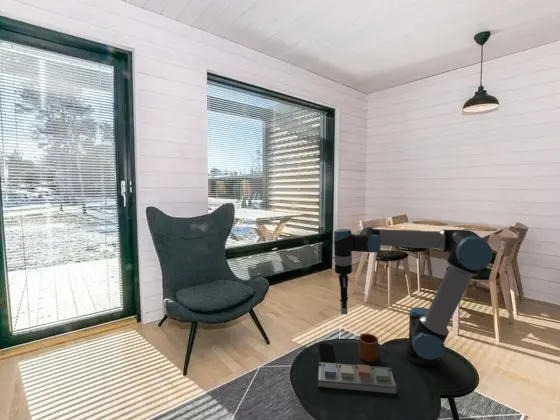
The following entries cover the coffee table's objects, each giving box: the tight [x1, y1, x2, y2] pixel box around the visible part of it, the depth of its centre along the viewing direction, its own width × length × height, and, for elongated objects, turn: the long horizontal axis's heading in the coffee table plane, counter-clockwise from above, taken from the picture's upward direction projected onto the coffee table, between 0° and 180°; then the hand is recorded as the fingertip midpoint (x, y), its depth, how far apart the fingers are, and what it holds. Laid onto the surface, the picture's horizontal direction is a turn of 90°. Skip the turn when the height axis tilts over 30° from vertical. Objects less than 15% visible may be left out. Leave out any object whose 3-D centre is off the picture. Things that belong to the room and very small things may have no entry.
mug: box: [358, 333, 379, 363], centre depth 146 cm, size 9×12×9 cm
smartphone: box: [318, 343, 337, 364], centre depth 148 cm, size 7×1×15 cm
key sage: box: [374, 368, 388, 381], centre depth 127 cm, size 5×5×2 cm
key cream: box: [341, 365, 353, 378], centre depth 130 cm, size 5×5×2 cm
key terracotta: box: [357, 364, 371, 377], centre depth 128 cm, size 5×5×2 cm
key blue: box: [324, 364, 336, 376], centre depth 131 cm, size 5×5×2 cm
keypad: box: [317, 361, 398, 394], centre depth 129 cm, size 31×12×3 cm, turn 80°
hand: (344, 313), depth 139 cm, fingers closed
